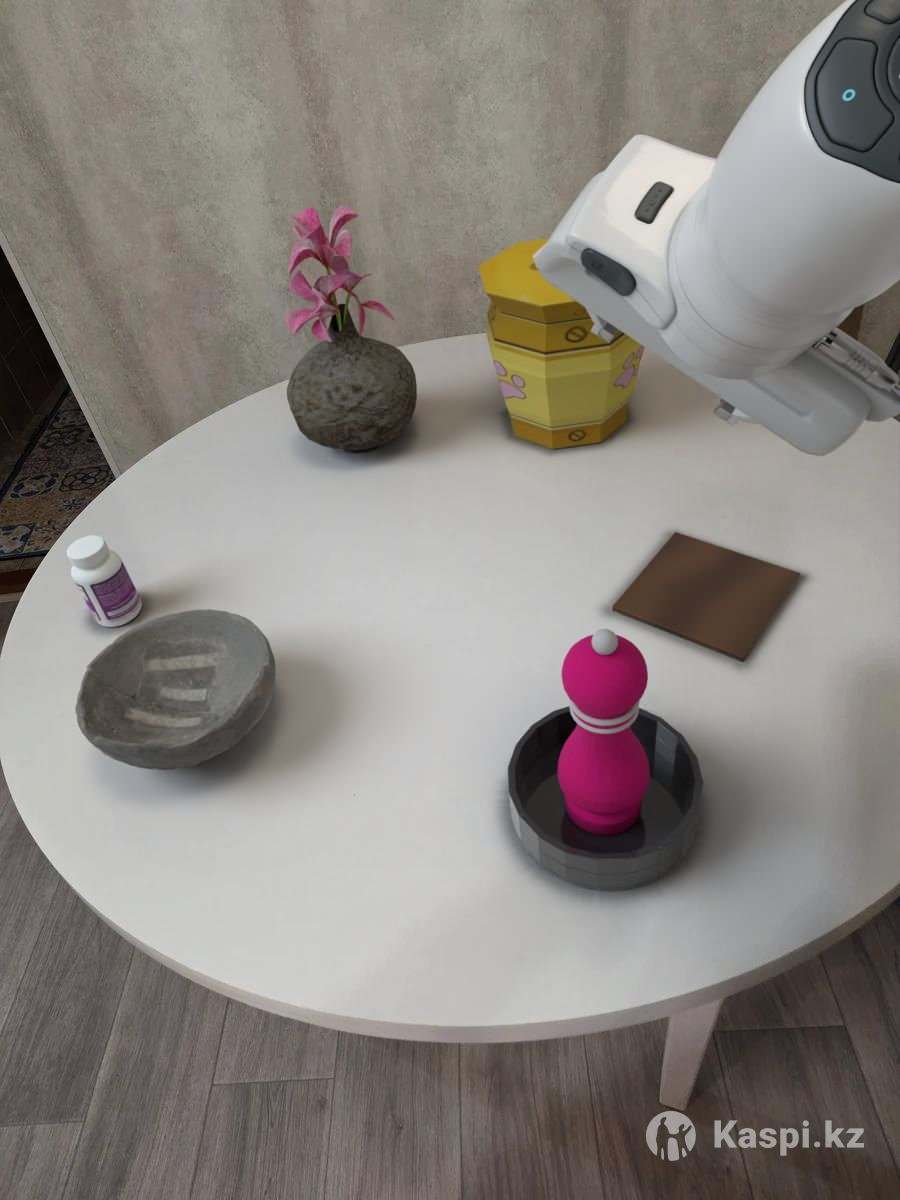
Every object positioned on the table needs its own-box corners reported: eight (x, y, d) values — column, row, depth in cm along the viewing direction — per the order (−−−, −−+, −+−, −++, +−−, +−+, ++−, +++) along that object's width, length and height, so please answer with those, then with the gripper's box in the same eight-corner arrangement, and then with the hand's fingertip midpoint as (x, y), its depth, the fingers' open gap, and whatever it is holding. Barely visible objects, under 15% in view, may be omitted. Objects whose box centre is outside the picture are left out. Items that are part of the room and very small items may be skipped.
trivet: (799, 577, 89) (800, 572, 89) (743, 662, 82) (743, 657, 81) (674, 535, 96) (675, 531, 96) (612, 610, 89) (612, 606, 89)
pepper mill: (638, 763, 74) (648, 591, 61) (655, 837, 69) (670, 666, 55) (554, 771, 75) (545, 601, 61) (564, 845, 69) (557, 677, 56)
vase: (285, 471, 115) (219, 244, 95) (328, 403, 127) (278, 189, 107) (405, 476, 111) (362, 240, 91) (438, 406, 123) (407, 184, 103)
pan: (728, 783, 72) (734, 750, 69) (641, 927, 64) (643, 897, 61) (572, 709, 80) (571, 676, 77) (476, 829, 72) (470, 798, 69)
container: (511, 374, 128) (498, 197, 111) (656, 382, 121) (666, 196, 104) (469, 453, 113) (447, 264, 96) (631, 467, 107) (638, 267, 90)
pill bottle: (149, 595, 99) (118, 529, 93) (134, 627, 95) (100, 561, 89) (105, 597, 100) (71, 531, 93) (88, 629, 96) (51, 563, 90)
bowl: (298, 650, 90) (280, 593, 84) (279, 792, 77) (256, 736, 71) (130, 667, 91) (101, 612, 85) (83, 811, 78) (45, 757, 72)
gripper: (959, 346, 42) (826, 418, 56) (610, 113, 42) (563, 242, 56) (891, 453, 42) (774, 498, 56) (539, 217, 42) (510, 322, 56)
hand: (666, 368), depth 56 cm, fingers open, 8 cm apart
